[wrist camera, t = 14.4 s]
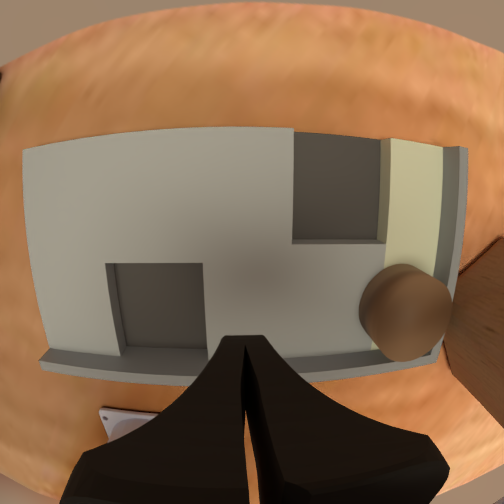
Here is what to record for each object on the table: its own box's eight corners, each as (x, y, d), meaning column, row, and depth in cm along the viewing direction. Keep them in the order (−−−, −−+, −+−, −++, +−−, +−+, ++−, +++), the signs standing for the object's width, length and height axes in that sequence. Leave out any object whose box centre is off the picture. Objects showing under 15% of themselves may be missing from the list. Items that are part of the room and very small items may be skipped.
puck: (417, 336, 20) (438, 356, 17) (351, 341, 19) (368, 366, 16) (434, 264, 18) (460, 277, 16) (366, 262, 18) (388, 277, 15)
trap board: (414, 341, 22) (436, 362, 18) (61, 347, 20) (42, 369, 17) (438, 149, 18) (468, 148, 15) (35, 150, 16) (6, 149, 13)
